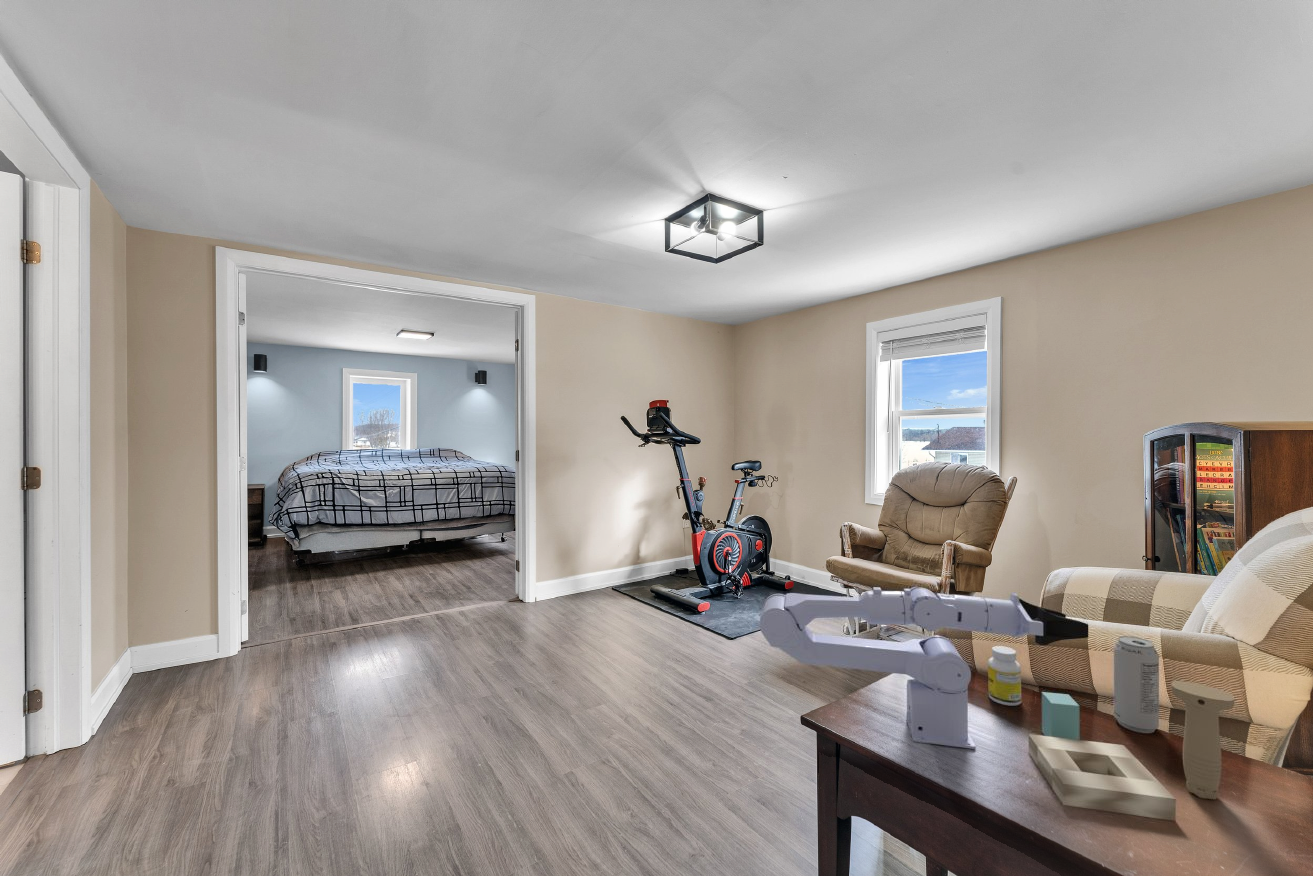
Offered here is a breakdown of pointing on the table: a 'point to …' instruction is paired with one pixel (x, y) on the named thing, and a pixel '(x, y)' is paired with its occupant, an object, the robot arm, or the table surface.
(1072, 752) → the socket block
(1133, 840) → the table surface
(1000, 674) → the supplement bottle
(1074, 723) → the peg
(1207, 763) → the handle
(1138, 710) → the energy drink can
